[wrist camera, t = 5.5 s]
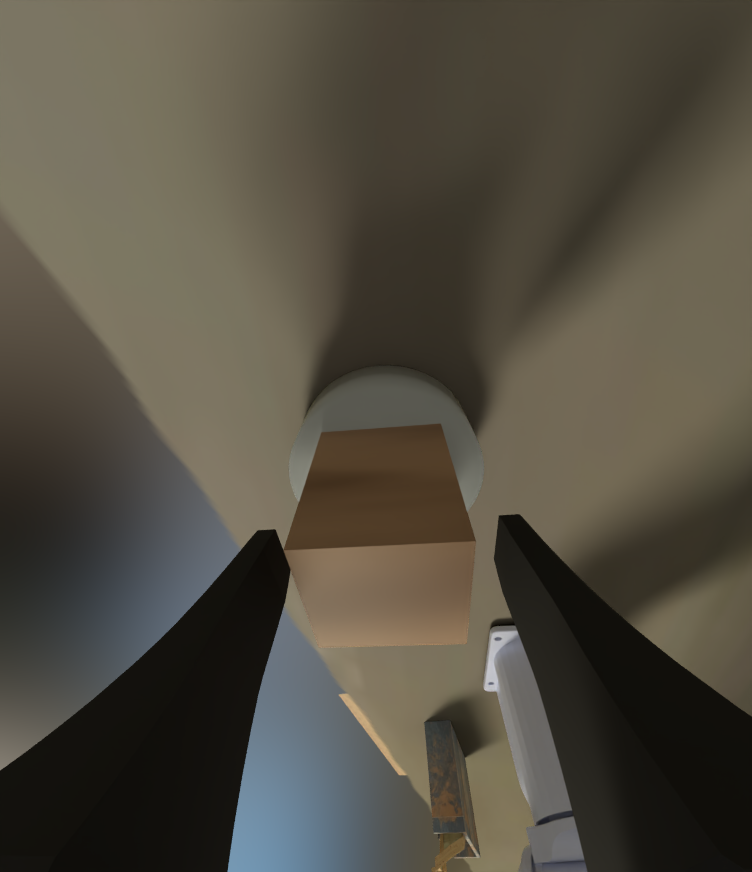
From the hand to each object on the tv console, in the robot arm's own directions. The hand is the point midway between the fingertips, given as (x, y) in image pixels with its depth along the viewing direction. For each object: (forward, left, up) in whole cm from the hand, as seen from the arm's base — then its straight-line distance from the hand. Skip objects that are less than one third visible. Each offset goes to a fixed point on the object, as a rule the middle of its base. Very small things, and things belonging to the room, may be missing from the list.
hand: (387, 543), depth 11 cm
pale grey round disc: (0, 0, -6) cm, 6 cm away
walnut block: (0, 0, -3) cm, 3 cm away
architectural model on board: (-39, -3, -7) cm, 40 cm away
